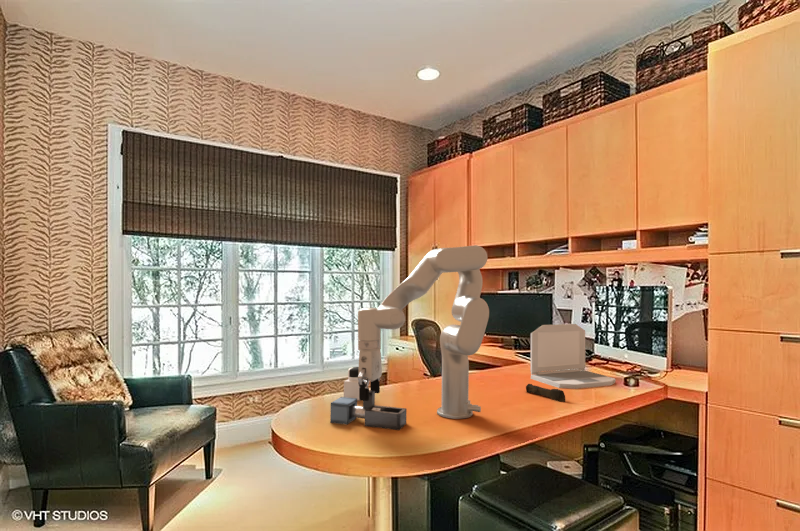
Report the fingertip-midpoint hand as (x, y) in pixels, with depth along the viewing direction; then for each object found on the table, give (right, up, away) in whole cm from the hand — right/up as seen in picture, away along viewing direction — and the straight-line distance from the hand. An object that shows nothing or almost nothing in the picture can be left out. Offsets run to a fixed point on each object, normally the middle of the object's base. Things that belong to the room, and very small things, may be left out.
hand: (369, 396), depth 153 cm
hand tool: (+71, -11, +37) cm, 80 cm away
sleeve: (+5, -9, -2) cm, 10 cm away
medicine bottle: (-8, -10, +31) cm, 34 cm away
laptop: (+94, -12, +66) cm, 115 cm away
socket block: (-9, -9, +2) cm, 13 cm away
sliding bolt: (-3, -7, 0) cm, 8 cm away
